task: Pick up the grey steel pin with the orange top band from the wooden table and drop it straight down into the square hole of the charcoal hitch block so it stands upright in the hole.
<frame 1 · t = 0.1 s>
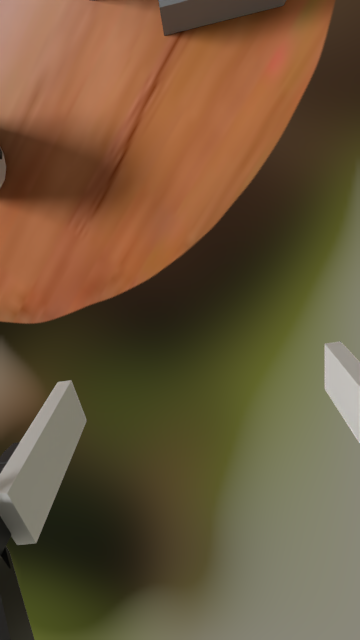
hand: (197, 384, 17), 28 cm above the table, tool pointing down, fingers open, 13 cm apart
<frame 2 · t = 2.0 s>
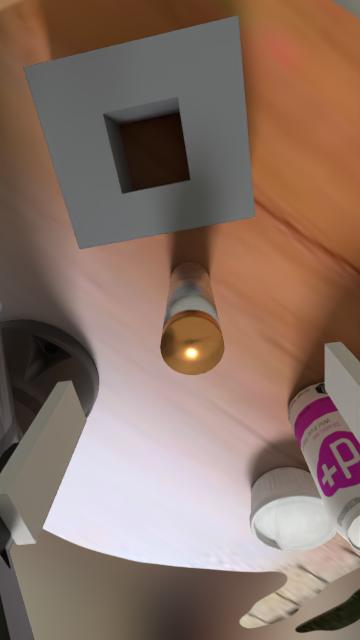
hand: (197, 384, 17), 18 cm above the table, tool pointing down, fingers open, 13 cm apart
ramekin: (283, 487, 46), on the table
hitch block: (155, 153, 28), on the table
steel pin: (189, 280, 33), on the table
supplement can: (319, 405, 39), on the table
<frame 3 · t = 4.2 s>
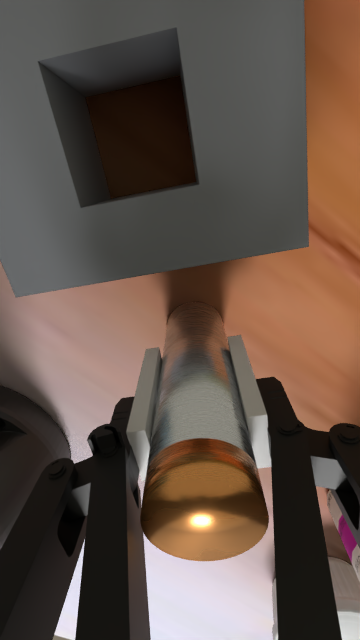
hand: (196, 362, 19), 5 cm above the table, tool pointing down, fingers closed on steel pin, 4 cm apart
ramekin: (314, 577, 35), on the table
hitch block: (143, 141, 18), on the table
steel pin: (194, 327, 23), on the table, touching gripper
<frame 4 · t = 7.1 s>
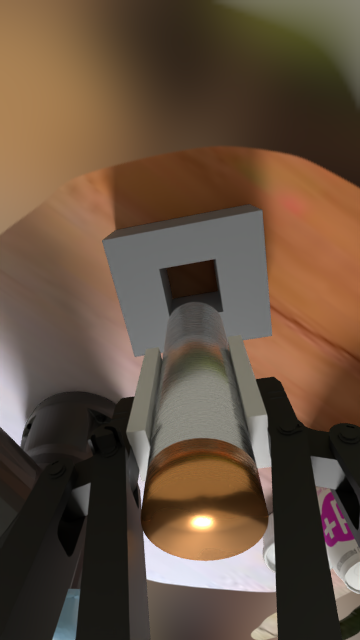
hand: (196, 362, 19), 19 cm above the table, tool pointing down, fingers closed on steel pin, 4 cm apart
ramekin: (291, 521, 53), on the table
hitch block: (191, 273, 35), on the table
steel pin: (195, 328, 23), point 14 cm above the table, touching gripper
supplement can: (322, 456, 46), on the table
when the fingers open (8 cm above the table, at t = 10.0 s): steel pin drops 3 cm, resting in hitch block.
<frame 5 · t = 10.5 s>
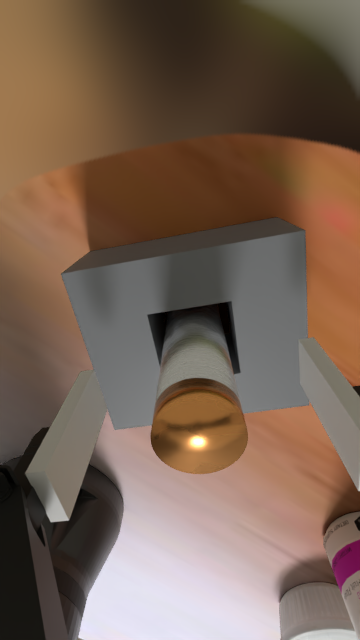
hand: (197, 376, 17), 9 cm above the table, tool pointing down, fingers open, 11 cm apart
ramekin: (313, 598, 43), on the table
hitch block: (194, 309, 26), on the table
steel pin: (193, 309, 26), resting in hitch block
supplement can: (356, 529, 37), on the table
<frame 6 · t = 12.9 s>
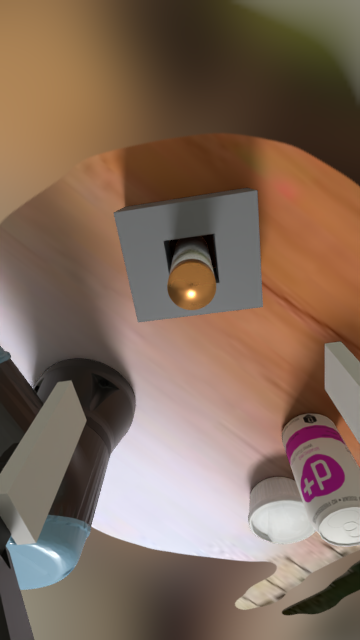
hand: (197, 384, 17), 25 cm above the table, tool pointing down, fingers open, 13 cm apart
ramekin: (276, 492, 56), on the table
hitch block: (192, 249, 39), on the table
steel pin: (191, 250, 39), resting in hitch block
supplement can: (306, 430, 50), on the table
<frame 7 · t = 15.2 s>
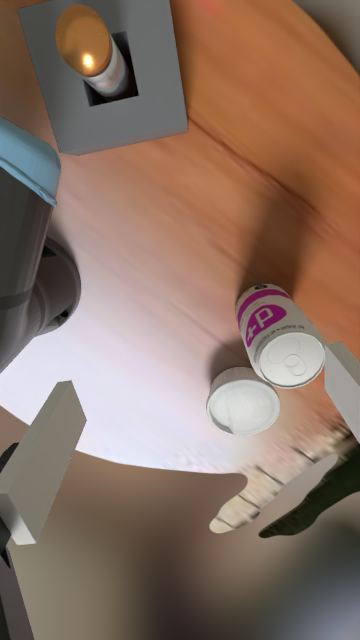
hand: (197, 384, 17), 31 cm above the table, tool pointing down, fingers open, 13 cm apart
ramekin: (238, 387, 54), on the table
hitch block: (119, 85, 37), on the table
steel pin: (118, 86, 37), resting in hitch block
supplement can: (261, 307, 48), on the table
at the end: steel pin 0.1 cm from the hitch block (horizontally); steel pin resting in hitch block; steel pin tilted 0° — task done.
